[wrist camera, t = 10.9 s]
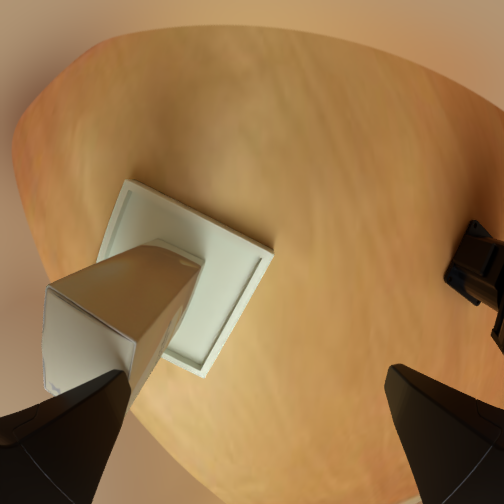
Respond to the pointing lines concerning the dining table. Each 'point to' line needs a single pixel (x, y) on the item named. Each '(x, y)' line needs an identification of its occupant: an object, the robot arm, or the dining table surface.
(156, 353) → the skincare box
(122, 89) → the dining table surface
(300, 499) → the dining table surface
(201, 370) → the sage dish
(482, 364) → the dining table surface
